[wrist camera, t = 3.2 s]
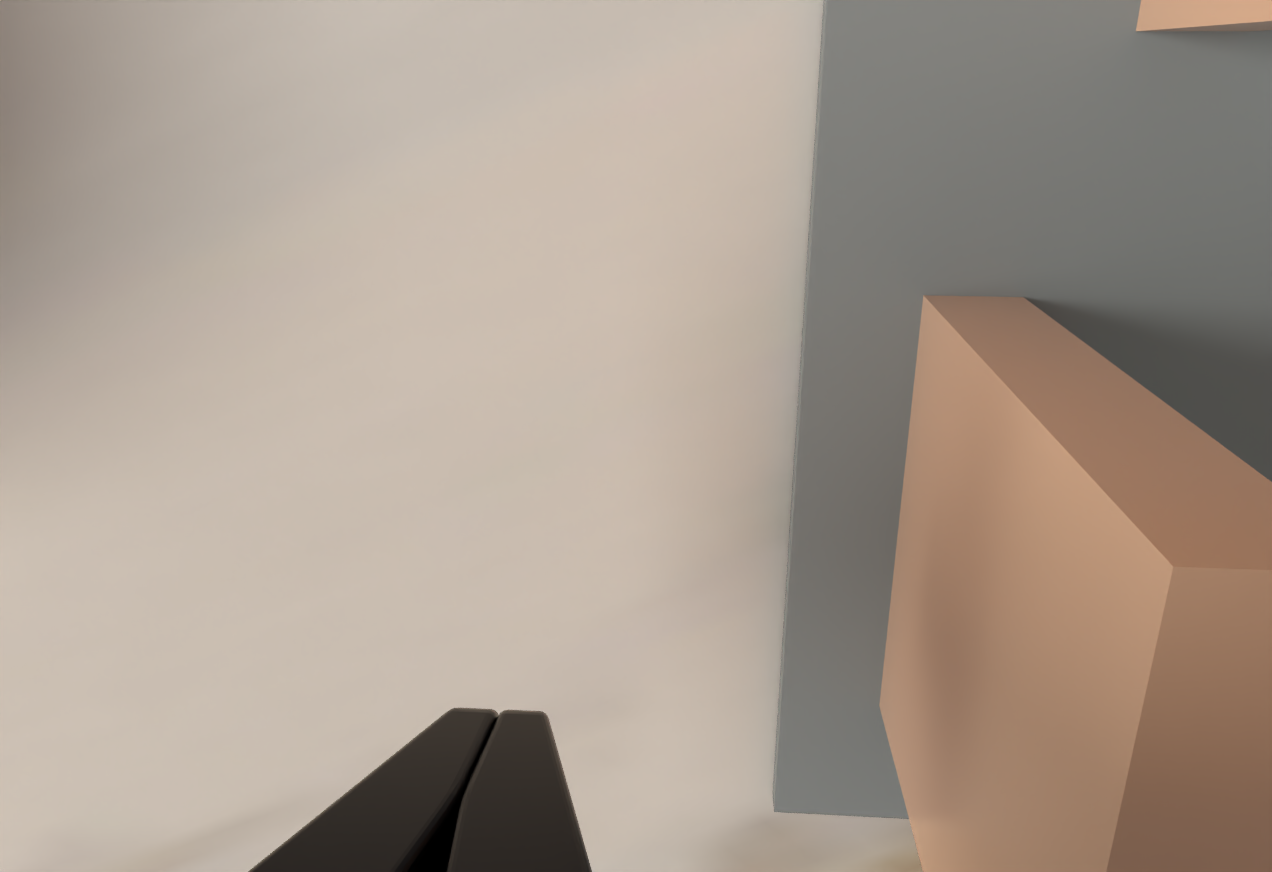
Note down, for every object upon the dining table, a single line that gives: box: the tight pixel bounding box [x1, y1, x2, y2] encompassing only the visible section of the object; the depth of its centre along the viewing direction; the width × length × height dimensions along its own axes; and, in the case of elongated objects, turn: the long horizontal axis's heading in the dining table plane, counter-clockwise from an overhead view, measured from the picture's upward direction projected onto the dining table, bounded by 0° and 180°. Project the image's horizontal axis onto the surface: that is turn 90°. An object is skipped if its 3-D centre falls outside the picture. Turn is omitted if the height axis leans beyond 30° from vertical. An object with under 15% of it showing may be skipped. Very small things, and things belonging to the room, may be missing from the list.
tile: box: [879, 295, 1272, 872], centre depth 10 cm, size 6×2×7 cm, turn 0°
